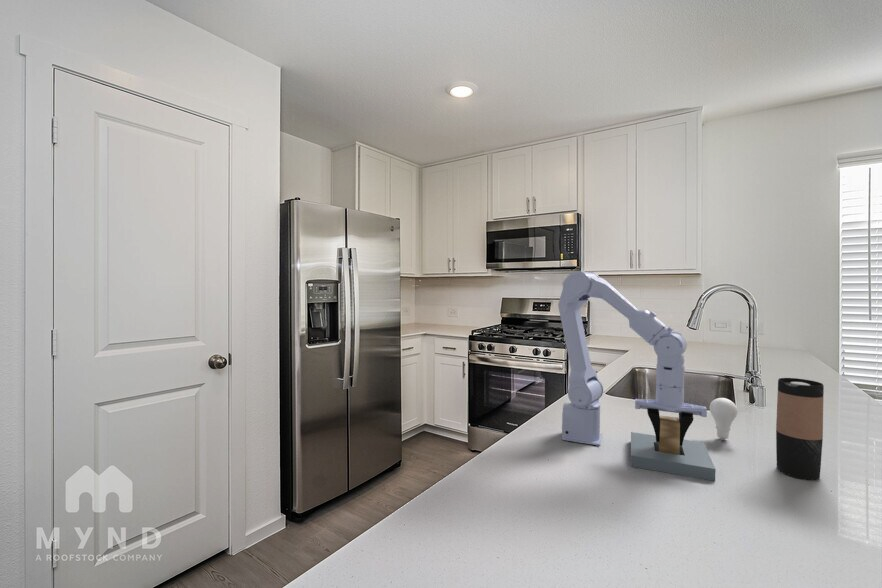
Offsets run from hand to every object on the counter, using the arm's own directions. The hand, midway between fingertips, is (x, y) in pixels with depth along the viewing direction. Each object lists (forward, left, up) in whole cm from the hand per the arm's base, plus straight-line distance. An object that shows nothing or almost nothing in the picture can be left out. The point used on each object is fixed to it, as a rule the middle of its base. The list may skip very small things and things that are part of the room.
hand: (668, 442), depth 97 cm
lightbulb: (+14, +20, -4) cm, 25 cm away
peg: (0, 0, -2) cm, 2 cm away
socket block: (0, 0, -4) cm, 4 cm away
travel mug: (+25, +4, -4) cm, 26 cm away
